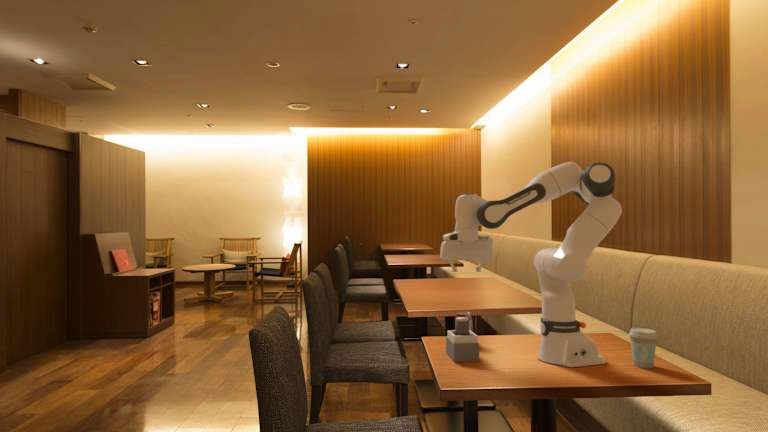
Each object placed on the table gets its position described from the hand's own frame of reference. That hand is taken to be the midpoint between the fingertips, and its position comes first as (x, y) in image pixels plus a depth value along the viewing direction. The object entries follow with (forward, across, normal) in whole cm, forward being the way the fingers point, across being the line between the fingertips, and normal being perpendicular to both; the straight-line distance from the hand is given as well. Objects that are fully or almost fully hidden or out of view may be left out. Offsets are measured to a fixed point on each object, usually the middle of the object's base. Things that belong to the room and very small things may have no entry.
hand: (466, 271), depth 180 cm
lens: (+23, +5, +12) cm, 26 cm away
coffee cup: (+29, -53, +28) cm, 67 cm away
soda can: (+29, -1, -7) cm, 30 cm away
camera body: (+29, +5, +12) cm, 32 cm away
